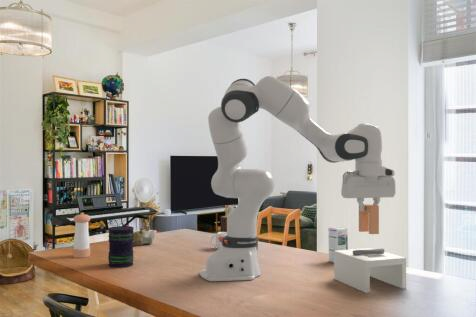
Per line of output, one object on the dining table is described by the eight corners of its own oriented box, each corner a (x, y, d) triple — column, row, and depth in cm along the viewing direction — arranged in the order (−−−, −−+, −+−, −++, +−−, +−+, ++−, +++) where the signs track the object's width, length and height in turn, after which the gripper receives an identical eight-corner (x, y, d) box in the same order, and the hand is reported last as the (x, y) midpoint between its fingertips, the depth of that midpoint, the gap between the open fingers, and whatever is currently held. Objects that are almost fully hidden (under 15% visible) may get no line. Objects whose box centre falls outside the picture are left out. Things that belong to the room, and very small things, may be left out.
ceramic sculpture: (157, 228, 212) (127, 231, 205) (158, 245, 212) (128, 249, 205) (151, 225, 222) (122, 229, 215) (152, 242, 222) (123, 246, 215)
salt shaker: (78, 258, 180) (79, 214, 181) (69, 256, 185) (69, 212, 185) (93, 255, 186) (94, 212, 186) (84, 253, 190) (84, 211, 191)
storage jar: (103, 265, 169) (103, 227, 169) (124, 261, 176) (125, 225, 176) (116, 269, 162) (117, 230, 162) (138, 265, 169) (138, 227, 169)
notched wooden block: (371, 234, 141) (371, 205, 141) (358, 231, 147) (358, 204, 148) (378, 233, 142) (378, 205, 142) (365, 230, 148) (365, 204, 149)
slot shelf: (365, 292, 133) (365, 256, 133) (334, 278, 150) (334, 246, 150) (406, 288, 139) (406, 252, 139) (371, 275, 155) (371, 243, 156)
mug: (236, 248, 205) (236, 232, 205) (227, 251, 198) (227, 234, 198) (215, 246, 211) (215, 230, 211) (206, 249, 204) (206, 232, 204)
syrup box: (337, 263, 173) (337, 228, 174) (328, 261, 179) (328, 226, 179) (348, 262, 176) (348, 227, 176) (338, 259, 181) (338, 226, 182)
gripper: (348, 170, 139) (348, 212, 138) (398, 171, 146) (398, 211, 145) (337, 170, 144) (337, 211, 144) (386, 170, 151) (386, 209, 151)
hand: (368, 211), depth 145 cm, fingers closed on notched wooden block, 3 cm apart
